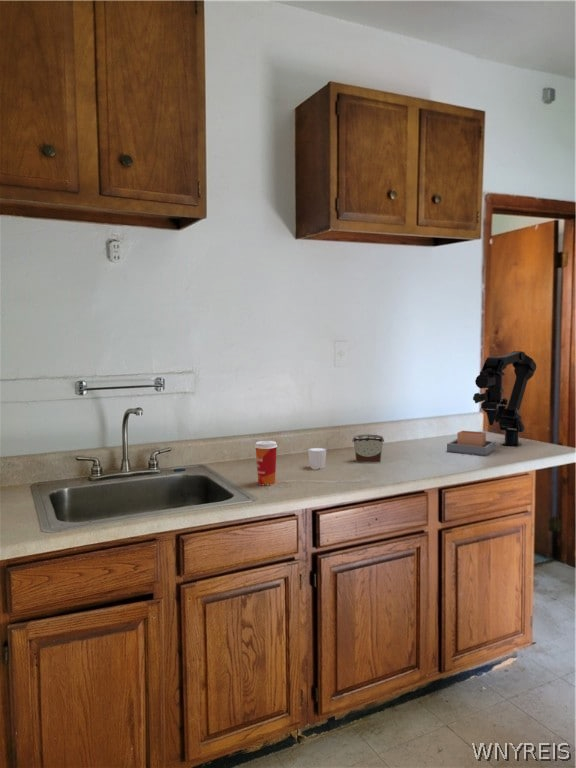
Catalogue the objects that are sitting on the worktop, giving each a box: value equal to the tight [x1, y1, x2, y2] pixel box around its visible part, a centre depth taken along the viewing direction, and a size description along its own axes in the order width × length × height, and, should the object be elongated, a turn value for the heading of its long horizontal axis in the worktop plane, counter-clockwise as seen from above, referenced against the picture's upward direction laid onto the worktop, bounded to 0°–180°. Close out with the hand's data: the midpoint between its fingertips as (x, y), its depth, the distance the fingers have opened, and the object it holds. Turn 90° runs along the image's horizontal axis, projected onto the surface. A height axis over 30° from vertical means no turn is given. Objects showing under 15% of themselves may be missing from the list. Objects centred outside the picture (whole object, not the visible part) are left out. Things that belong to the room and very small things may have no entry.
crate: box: [446, 438, 496, 457], centre depth 240 cm, size 14×16×4 cm
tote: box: [456, 430, 487, 447], centre depth 240 cm, size 6×10×7 cm, turn 56°
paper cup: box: [254, 440, 278, 485], centre depth 193 cm, size 8×8×14 cm
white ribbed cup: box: [307, 447, 327, 470], centre depth 215 cm, size 7×7×7 cm
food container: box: [352, 433, 385, 463], centre depth 225 cm, size 12×6×10 cm, turn 84°
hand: (494, 423), depth 242 cm, fingers open, 9 cm apart
